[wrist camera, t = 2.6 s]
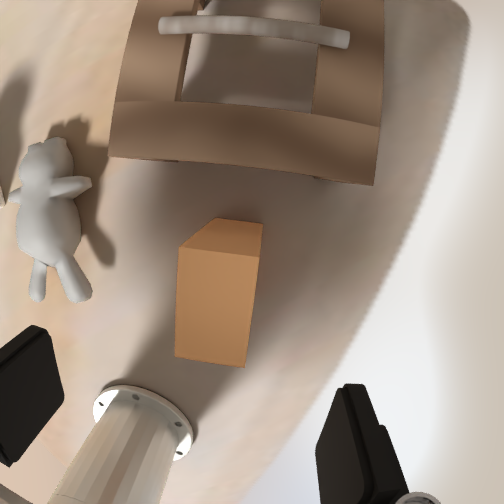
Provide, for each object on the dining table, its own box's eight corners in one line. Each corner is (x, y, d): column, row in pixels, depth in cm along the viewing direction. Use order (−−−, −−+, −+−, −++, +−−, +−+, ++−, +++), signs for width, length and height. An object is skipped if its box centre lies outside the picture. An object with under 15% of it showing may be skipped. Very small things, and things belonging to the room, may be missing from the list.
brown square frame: (342, 182, 25) (379, 186, 16) (151, 160, 25) (97, 155, 16) (356, 7, 21) (386, -47, 12) (182, -8, 21) (153, -63, 12)
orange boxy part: (253, 296, 28) (244, 367, 17) (208, 290, 28) (174, 356, 17) (263, 223, 26) (259, 257, 15) (214, 217, 26) (179, 246, 15)
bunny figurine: (71, 125, 21) (83, 309, 23) (100, 137, 26) (111, 294, 28) (0, 150, 22) (11, 306, 23) (31, 156, 27) (41, 295, 28)
